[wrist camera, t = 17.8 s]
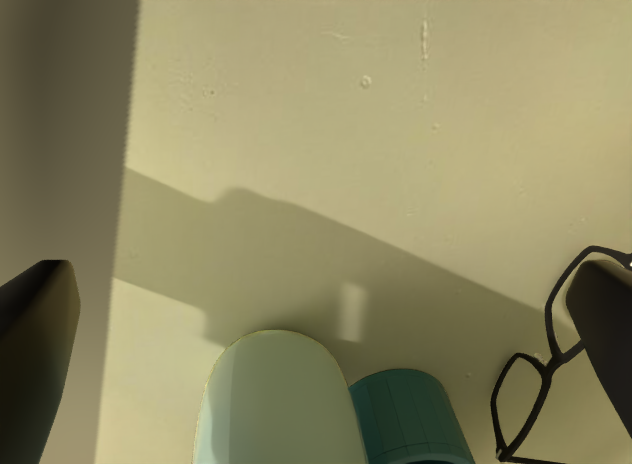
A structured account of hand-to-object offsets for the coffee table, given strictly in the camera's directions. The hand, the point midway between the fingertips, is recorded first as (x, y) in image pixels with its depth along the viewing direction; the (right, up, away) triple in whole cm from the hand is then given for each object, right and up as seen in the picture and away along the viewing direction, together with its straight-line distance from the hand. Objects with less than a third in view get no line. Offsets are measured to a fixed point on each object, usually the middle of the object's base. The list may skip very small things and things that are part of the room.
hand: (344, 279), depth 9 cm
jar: (+4, -10, +23) cm, 25 cm away
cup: (-3, -6, +19) cm, 20 cm away
